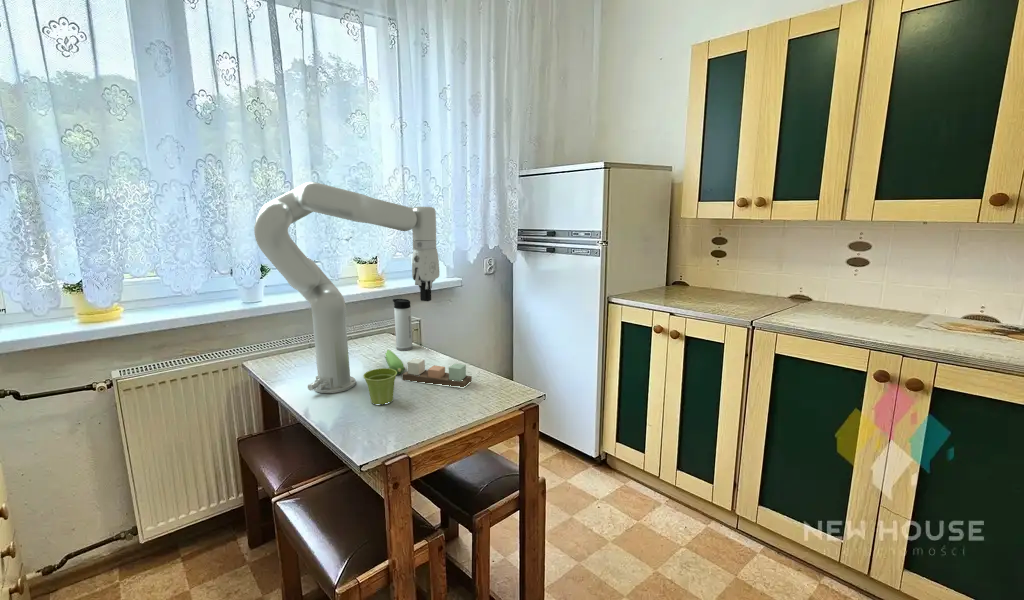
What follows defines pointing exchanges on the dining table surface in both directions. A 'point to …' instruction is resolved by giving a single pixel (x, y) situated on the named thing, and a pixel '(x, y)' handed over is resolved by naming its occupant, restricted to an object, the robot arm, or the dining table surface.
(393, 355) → the edible corn
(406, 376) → the button board
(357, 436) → the dining table surface
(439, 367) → the terracotta block
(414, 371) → the ivory block
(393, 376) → the plant pot
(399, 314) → the travel mug
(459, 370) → the sage block
